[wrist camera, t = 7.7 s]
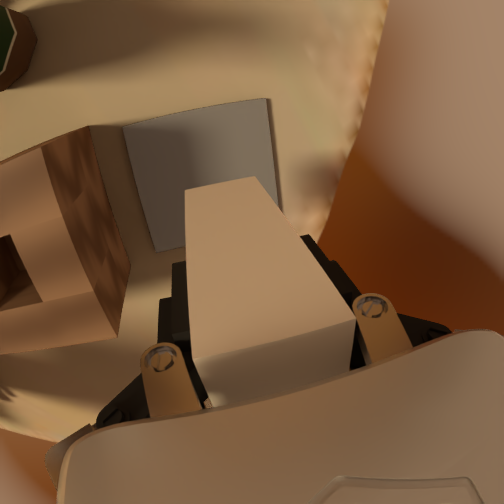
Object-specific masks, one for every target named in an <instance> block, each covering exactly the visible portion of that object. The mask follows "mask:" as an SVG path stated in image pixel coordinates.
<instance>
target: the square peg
mask: <svg viewBox="0 0 504 504" xmlns="http://www.w3.org/2000/svg"><path fill="white" fill-rule="evenodd" d="M185 240H186V269H187V290H188V307H189V323H190V336H191V349H192V359H193V362H194V364H195V367H196V369H197V371H198V374H199V376H200V378H201V381H202V383H203V385H204V387H205V390H206V392H207V394H208V396H209V398H210V401H211V403H212V405H213V407H218V406H223V405H228V404H233V403H237V402H242V401H246V400H251V399H255V398H259V397H263V396H267V395H271V394H275V393H279V392H283V391H287V390H290V389H294V388H298V387H301V386H305V385H308V384H311V383H315V382H318V381H321V380H325V379H328V378H331V377H334V376H337V375H340V374H343V373H346V372H349V366H350V360H351V353H352V346H353V339H354V332H355V324H356V317H355V315H354V314H353V312H352V311H351V309H350V308H349V306H348V305H347V303H346V302H345V301H344V299H343V298H342V296H341V295H340V293H339V292H338V290H337V289H336V287H335V286H334V284H333V283H332V282H331V280H330V279H329V277H328V276H327V274H326V273H325V272H324V270H323V269H322V267H321V266H320V264H319V263H318V262H317V260H316V259H315V257H314V256H313V254H312V253H311V252H310V250H309V249H308V247H307V246H306V245H305V243H304V242H303V240H302V239H301V238H300V236H299V235H298V234H297V232H296V231H295V229H294V228H293V227H292V225H291V224H290V223H289V221H288V220H287V218H286V217H285V216H284V214H283V213H282V212H281V210H280V209H279V208H278V206H277V205H276V204H275V202H274V201H273V200H272V198H271V197H270V196H269V194H268V193H267V192H266V190H265V189H264V188H263V186H262V185H261V184H260V182H259V181H258V180H257V178H256V177H255V176H252V177H247V178H242V179H236V180H231V181H226V182H221V183H216V184H211V185H206V186H202V187H197V188H192V189H188V190H185Z"/></svg>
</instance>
